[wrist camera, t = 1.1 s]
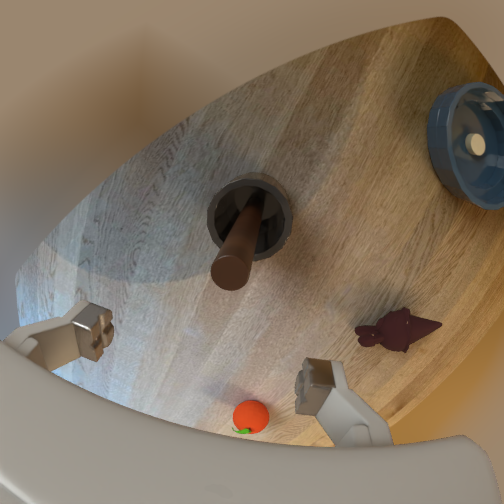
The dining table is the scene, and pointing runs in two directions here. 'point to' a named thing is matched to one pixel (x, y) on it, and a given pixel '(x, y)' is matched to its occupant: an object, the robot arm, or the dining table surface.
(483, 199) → the bowl
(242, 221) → the stick
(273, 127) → the dining table surface
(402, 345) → the icecream
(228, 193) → the holder
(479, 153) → the dough
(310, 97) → the dining table surface
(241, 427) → the clementine
